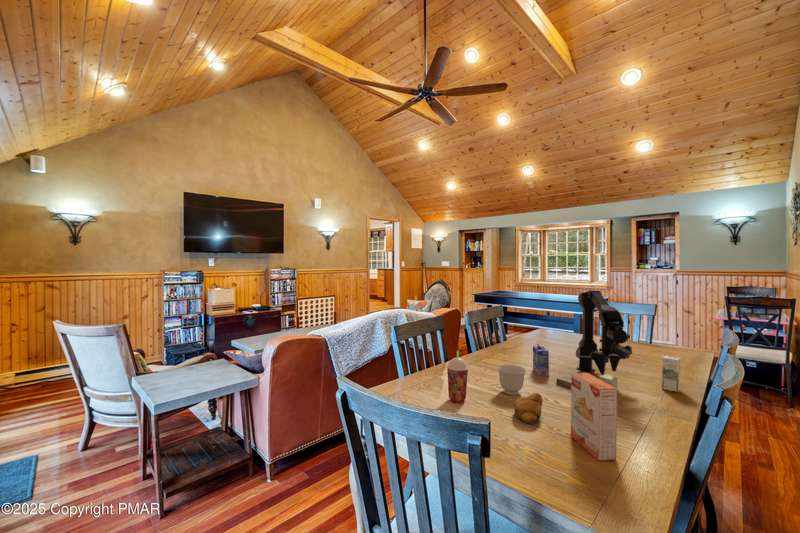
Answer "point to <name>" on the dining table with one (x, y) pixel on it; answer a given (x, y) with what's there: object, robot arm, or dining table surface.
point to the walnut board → (565, 381)
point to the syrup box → (671, 373)
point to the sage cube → (609, 380)
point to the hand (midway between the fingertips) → (608, 373)
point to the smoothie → (457, 379)
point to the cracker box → (594, 415)
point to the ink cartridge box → (541, 360)
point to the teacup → (511, 378)
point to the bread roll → (528, 408)
